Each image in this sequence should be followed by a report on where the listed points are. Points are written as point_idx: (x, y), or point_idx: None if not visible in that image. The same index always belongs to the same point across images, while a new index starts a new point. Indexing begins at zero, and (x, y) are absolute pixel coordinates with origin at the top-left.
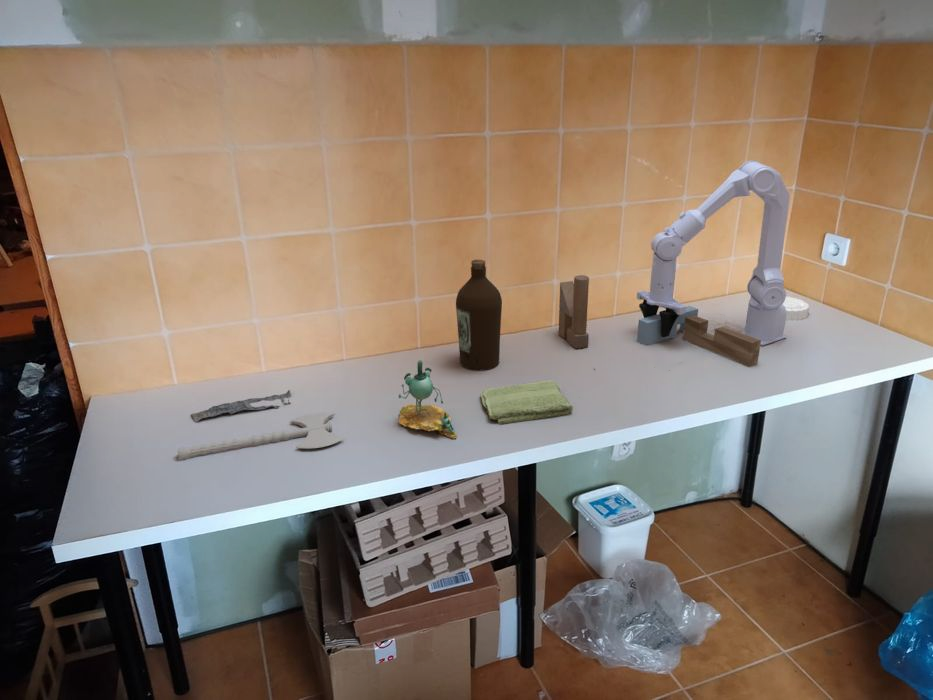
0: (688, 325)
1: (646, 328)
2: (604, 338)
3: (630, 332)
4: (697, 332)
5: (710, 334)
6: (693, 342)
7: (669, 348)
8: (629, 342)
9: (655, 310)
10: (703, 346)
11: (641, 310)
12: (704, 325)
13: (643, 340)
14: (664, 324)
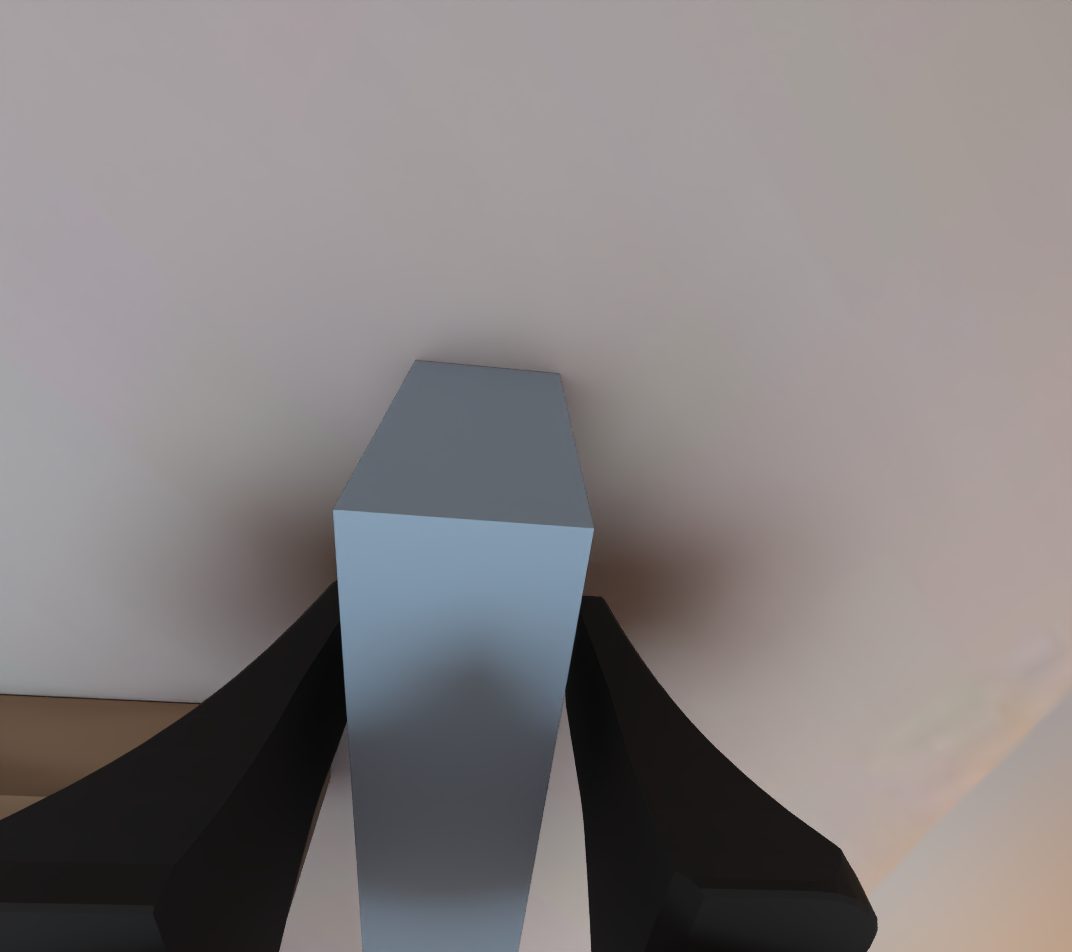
0: None
1: (379, 456)
2: (944, 117)
3: (769, 516)
4: None
5: None
6: None
7: (211, 492)
8: (606, 284)
9: (599, 905)
10: (73, 711)
11: (757, 792)
12: None
13: (449, 379)
14: (216, 697)
